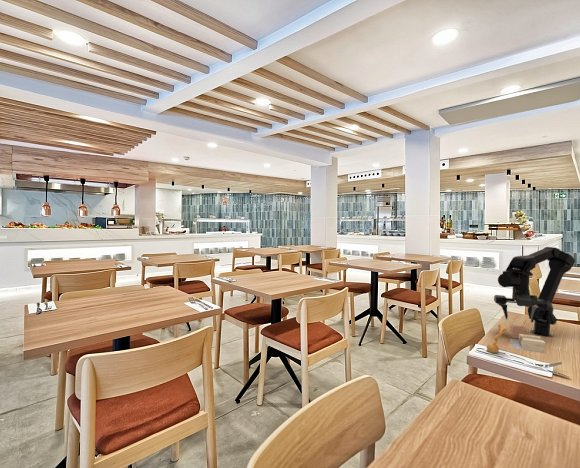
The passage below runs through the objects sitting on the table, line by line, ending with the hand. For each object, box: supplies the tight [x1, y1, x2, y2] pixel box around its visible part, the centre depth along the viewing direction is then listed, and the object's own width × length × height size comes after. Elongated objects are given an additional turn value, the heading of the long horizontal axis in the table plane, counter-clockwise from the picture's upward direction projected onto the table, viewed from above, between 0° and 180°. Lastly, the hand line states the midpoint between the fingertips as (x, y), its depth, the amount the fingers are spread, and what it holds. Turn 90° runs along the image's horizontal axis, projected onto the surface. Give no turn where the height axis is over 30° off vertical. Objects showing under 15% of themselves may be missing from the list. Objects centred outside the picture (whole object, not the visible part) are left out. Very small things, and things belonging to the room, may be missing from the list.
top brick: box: [509, 324, 528, 340], centre depth 140 cm, size 5×5×5 cm
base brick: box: [518, 334, 546, 353], centre depth 129 cm, size 7×7×4 cm
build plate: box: [508, 337, 547, 354], centre depth 131 cm, size 12×10×1 cm
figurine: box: [486, 323, 507, 354], centre depth 123 cm, size 8×6×12 cm
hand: (518, 320), depth 140 cm, fingers open, 9 cm apart
